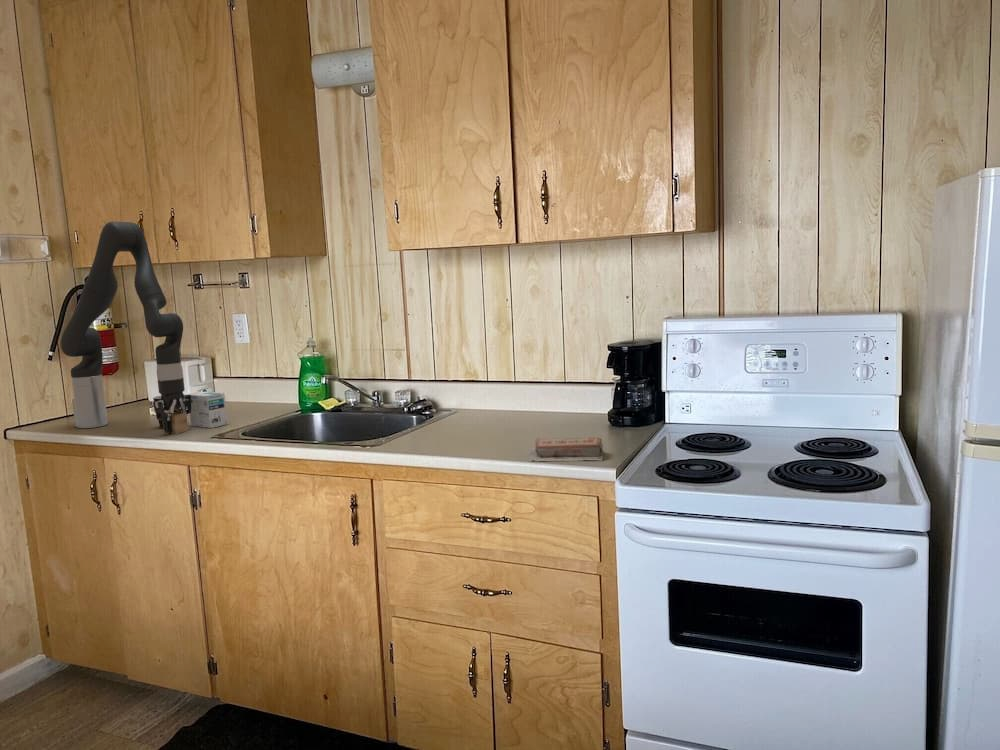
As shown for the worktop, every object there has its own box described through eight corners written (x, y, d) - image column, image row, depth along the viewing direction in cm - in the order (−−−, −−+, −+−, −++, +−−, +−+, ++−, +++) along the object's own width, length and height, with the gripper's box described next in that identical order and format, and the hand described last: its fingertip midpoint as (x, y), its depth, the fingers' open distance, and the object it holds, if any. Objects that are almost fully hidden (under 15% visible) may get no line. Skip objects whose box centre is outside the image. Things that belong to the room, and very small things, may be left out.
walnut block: (164, 434, 240) (162, 415, 240) (175, 430, 245) (173, 412, 244) (176, 434, 239) (174, 415, 238) (188, 431, 243) (186, 412, 242)
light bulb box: (228, 424, 251) (225, 392, 250) (210, 428, 246) (207, 395, 244) (207, 422, 257) (204, 390, 256) (189, 426, 251) (186, 393, 250)
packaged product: (602, 434, 191) (603, 443, 182) (603, 452, 192) (603, 463, 182) (530, 435, 194) (527, 444, 184) (531, 453, 194) (528, 463, 184)
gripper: (177, 374, 247) (183, 425, 250) (143, 380, 234) (149, 434, 236) (196, 374, 245) (201, 426, 247) (162, 381, 231) (168, 435, 234)
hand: (175, 430), depth 242 cm, fingers open, 5 cm apart
